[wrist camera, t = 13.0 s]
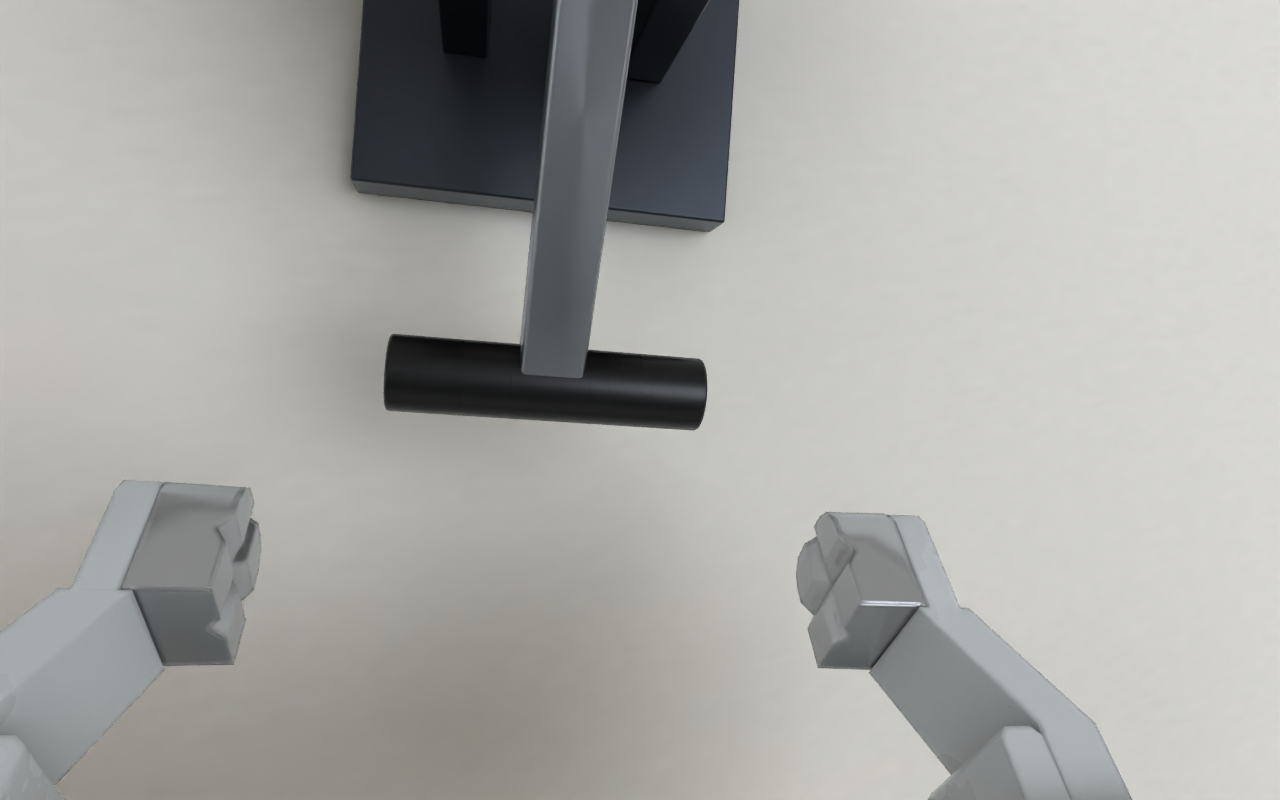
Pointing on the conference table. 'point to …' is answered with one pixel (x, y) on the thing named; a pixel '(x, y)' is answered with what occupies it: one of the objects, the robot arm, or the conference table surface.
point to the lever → (560, 269)
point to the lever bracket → (540, 106)
